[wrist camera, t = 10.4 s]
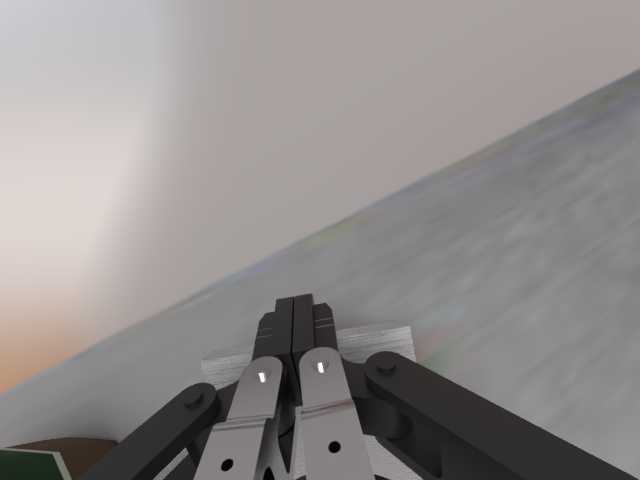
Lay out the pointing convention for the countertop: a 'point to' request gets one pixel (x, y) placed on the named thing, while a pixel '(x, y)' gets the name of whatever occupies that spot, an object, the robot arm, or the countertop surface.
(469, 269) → the countertop surface
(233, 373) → the slab
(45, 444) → the beer bottle
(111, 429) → the countertop surface
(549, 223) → the countertop surface
